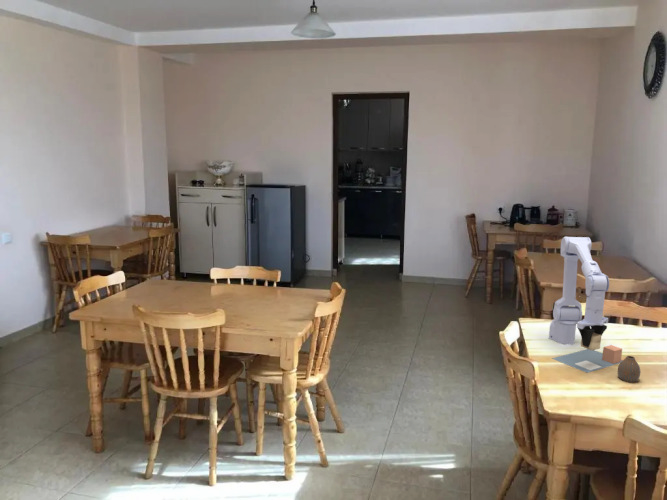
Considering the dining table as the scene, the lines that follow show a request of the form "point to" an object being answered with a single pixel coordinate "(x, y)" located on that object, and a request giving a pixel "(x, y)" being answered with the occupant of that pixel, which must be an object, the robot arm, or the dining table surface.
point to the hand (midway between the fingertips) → (590, 344)
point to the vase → (629, 370)
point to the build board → (585, 360)
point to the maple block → (593, 342)
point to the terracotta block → (612, 354)
